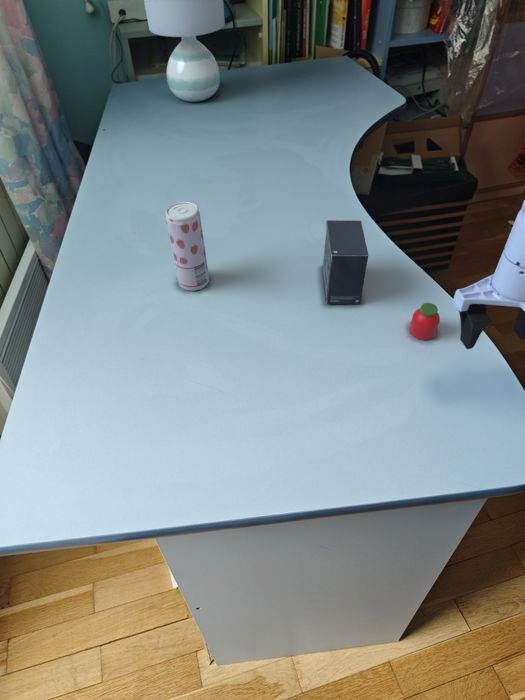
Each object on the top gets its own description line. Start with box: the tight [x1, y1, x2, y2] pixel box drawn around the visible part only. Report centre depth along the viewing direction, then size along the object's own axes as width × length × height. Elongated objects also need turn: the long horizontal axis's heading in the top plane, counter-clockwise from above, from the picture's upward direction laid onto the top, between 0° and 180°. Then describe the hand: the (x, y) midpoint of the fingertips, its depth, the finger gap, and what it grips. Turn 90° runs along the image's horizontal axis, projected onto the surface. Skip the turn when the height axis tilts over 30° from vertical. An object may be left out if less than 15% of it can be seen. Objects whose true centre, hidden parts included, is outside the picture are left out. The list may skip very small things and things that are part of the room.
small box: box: [321, 219, 370, 305], centre depth 84 cm, size 11×6×10 cm, turn 179°
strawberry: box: [408, 302, 441, 341], centre depth 77 cm, size 4×4×5 cm
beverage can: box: [165, 201, 210, 292], centre depth 84 cm, size 6×6×15 cm
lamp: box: [143, 0, 226, 103], centre depth 138 cm, size 22×22×40 cm
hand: (492, 339), depth 65 cm, fingers open, 7 cm apart
